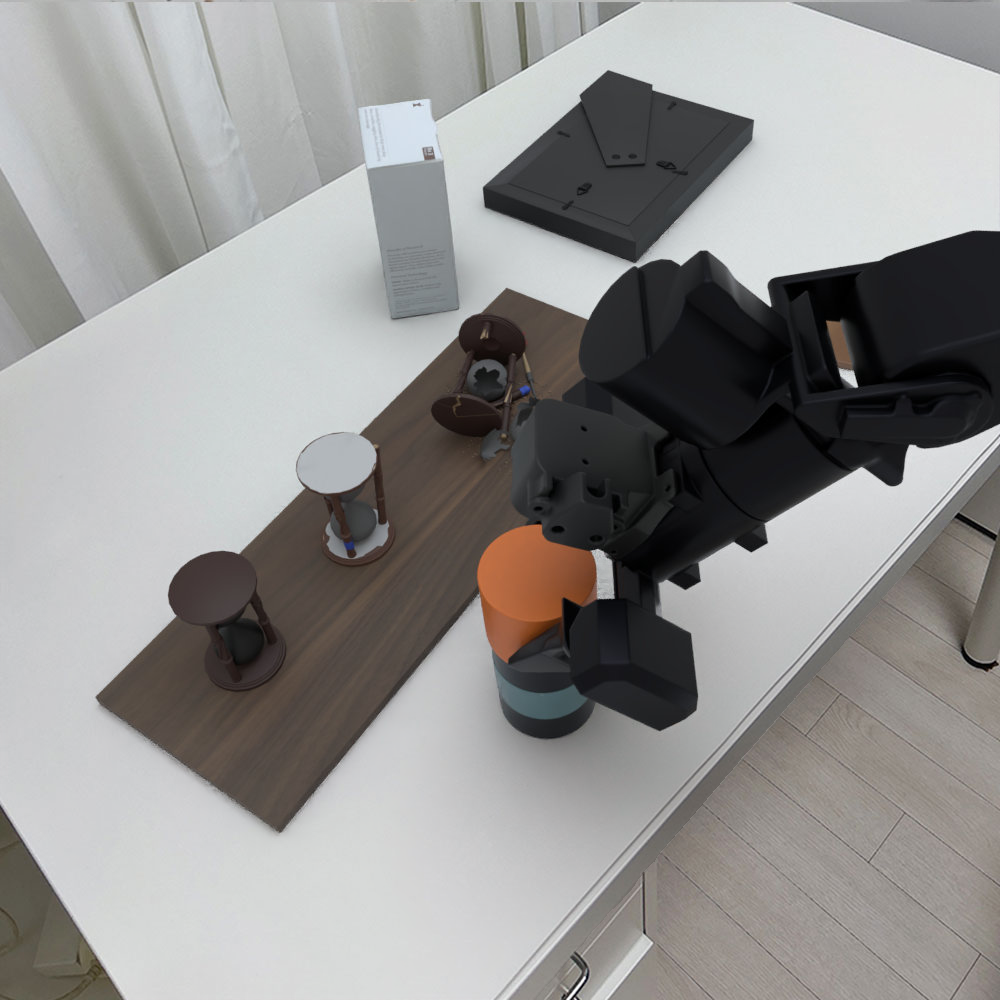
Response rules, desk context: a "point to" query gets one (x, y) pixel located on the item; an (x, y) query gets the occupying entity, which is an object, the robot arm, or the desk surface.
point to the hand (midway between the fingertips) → (514, 608)
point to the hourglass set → (348, 571)
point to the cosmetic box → (410, 206)
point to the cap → (530, 586)
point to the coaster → (839, 345)
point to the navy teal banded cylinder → (540, 701)
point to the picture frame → (619, 166)
